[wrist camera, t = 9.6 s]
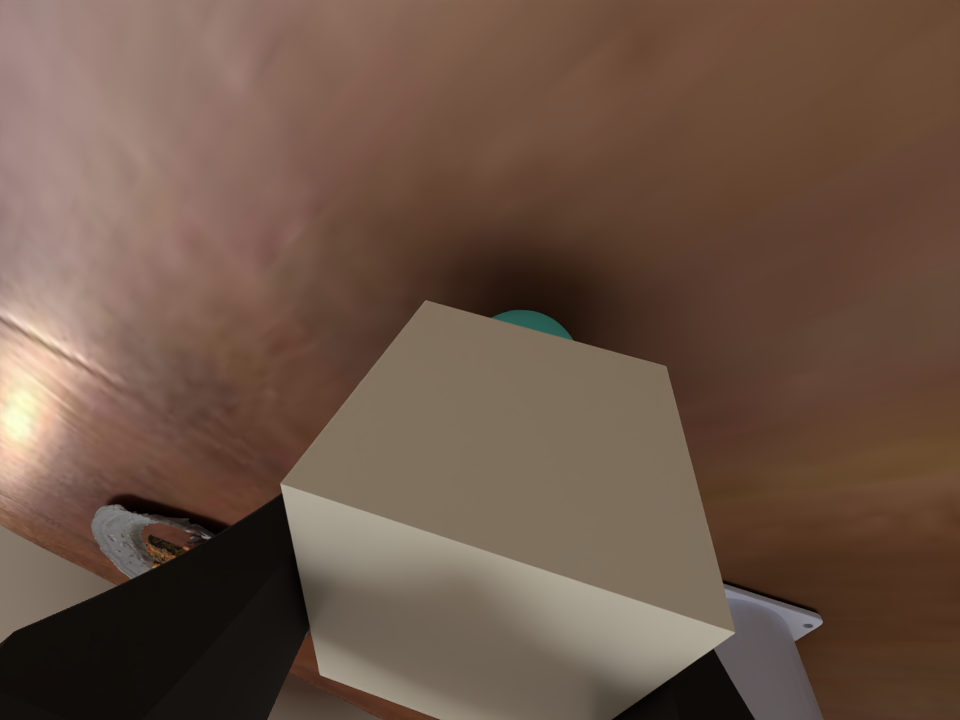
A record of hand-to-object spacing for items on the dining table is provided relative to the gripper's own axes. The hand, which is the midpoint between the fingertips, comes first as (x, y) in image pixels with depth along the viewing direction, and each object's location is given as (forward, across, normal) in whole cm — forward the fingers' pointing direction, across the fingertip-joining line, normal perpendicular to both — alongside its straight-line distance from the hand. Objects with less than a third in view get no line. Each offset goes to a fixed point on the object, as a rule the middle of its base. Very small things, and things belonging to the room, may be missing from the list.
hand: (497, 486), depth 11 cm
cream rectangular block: (+2, 0, 0) cm, 2 cm away
